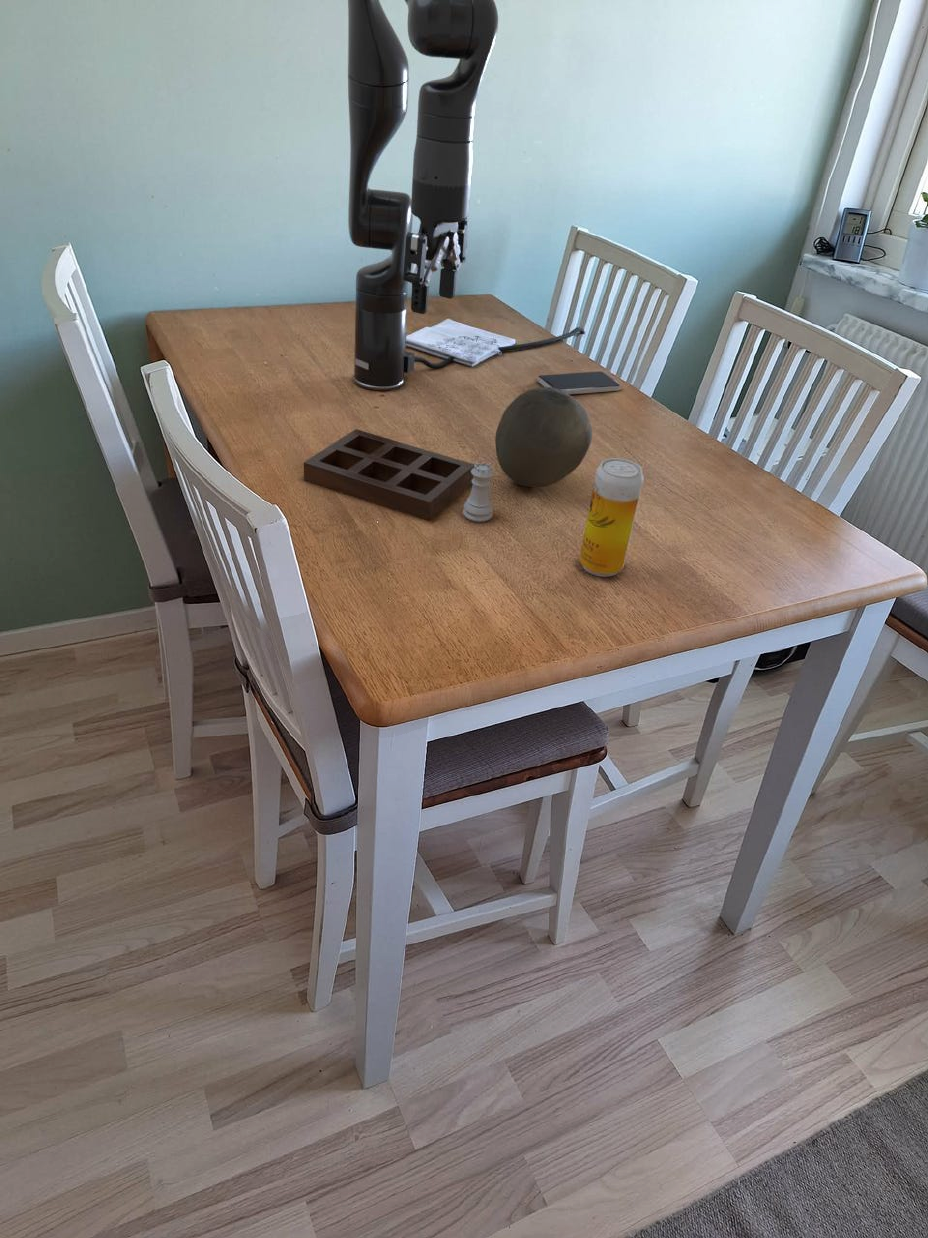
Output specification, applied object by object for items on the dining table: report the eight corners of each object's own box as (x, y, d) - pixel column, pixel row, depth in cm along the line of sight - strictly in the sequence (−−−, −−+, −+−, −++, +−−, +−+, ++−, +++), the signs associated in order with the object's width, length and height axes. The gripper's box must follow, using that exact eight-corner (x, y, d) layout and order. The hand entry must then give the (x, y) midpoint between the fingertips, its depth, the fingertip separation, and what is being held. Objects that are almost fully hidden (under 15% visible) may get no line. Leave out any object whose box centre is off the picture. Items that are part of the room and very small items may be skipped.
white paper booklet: (395, 345, 187) (396, 334, 185) (448, 323, 201) (448, 314, 200) (473, 369, 179) (474, 358, 178) (521, 345, 194) (522, 335, 192)
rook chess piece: (489, 525, 128) (495, 475, 124) (459, 520, 129) (464, 470, 124) (495, 511, 132) (501, 462, 127) (465, 506, 132) (470, 456, 128)
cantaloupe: (519, 510, 133) (533, 415, 124) (475, 469, 143) (485, 378, 134) (597, 496, 139) (615, 405, 130) (550, 458, 149) (564, 370, 140)
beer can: (574, 554, 124) (593, 455, 115) (617, 555, 125) (639, 457, 116) (582, 578, 119) (603, 476, 110) (627, 579, 120) (650, 479, 111)
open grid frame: (355, 445, 146) (355, 428, 144) (473, 481, 139) (475, 464, 137) (303, 480, 135) (303, 461, 133) (428, 520, 128) (430, 502, 126)
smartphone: (622, 385, 176) (556, 390, 170) (621, 391, 177) (555, 396, 171) (601, 370, 182) (537, 375, 176) (600, 376, 183) (536, 380, 177)
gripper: (443, 191, 108) (434, 324, 117) (491, 173, 118) (478, 297, 128) (389, 179, 110) (384, 311, 119) (440, 163, 120) (432, 286, 130)
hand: (433, 304), depth 124 cm, fingers open, 8 cm apart
